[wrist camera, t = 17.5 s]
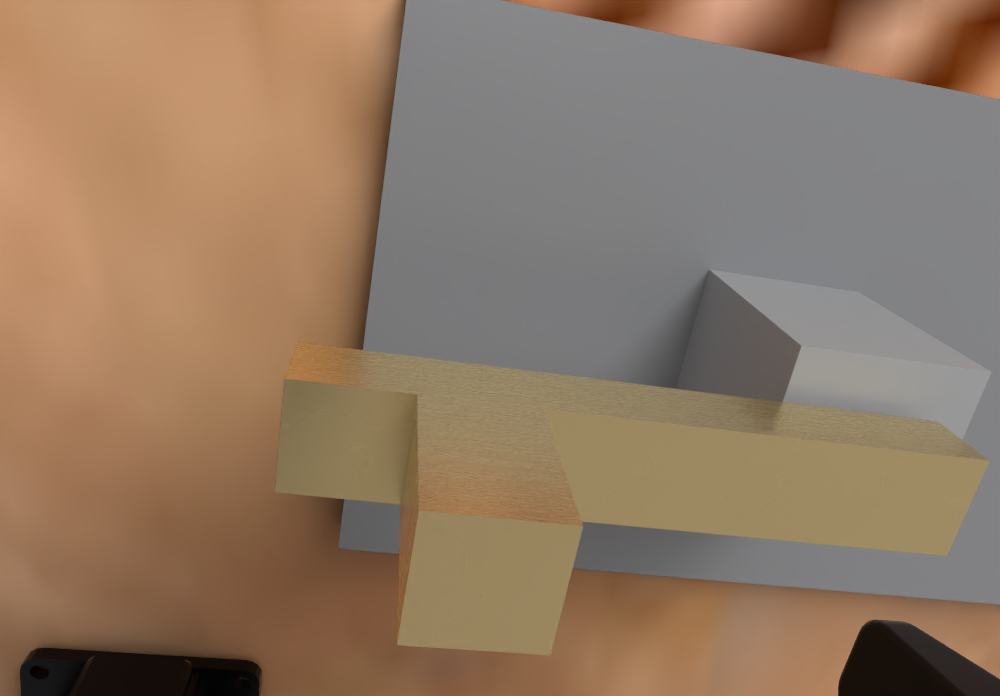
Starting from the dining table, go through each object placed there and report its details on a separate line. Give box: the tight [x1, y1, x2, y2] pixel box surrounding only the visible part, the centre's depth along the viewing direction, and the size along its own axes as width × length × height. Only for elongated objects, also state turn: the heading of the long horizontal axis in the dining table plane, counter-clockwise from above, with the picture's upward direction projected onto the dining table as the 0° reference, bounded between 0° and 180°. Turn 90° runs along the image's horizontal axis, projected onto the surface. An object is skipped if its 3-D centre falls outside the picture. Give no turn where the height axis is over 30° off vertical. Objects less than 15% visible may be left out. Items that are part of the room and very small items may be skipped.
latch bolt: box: [274, 342, 990, 655], centre depth 13 cm, size 2×12×5 cm, turn 80°
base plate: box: [338, 0, 1000, 605], centre depth 19 cm, size 14×24×6 cm, turn 80°
